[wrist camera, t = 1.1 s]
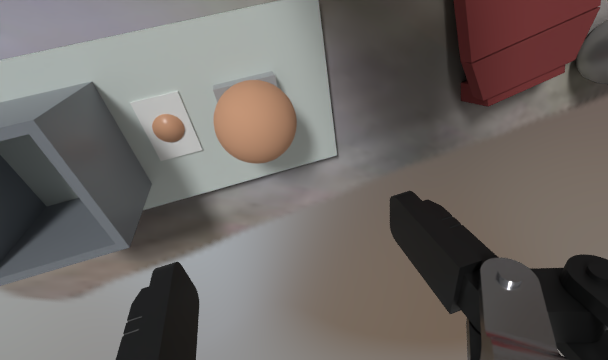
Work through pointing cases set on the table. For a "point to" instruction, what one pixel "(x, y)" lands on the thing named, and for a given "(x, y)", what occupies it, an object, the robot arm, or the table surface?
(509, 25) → the carton
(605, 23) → the plastic bottle
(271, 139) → the ball
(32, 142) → the ball rack
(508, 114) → the table surface
